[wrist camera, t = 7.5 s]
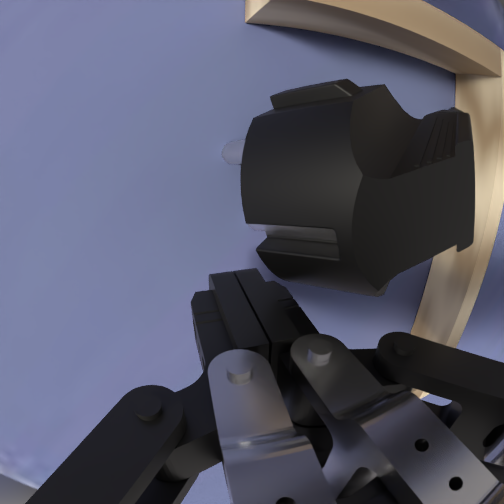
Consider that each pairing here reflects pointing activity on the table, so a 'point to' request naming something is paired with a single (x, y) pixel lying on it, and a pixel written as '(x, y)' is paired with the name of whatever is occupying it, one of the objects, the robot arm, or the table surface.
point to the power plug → (354, 185)
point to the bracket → (466, 99)
